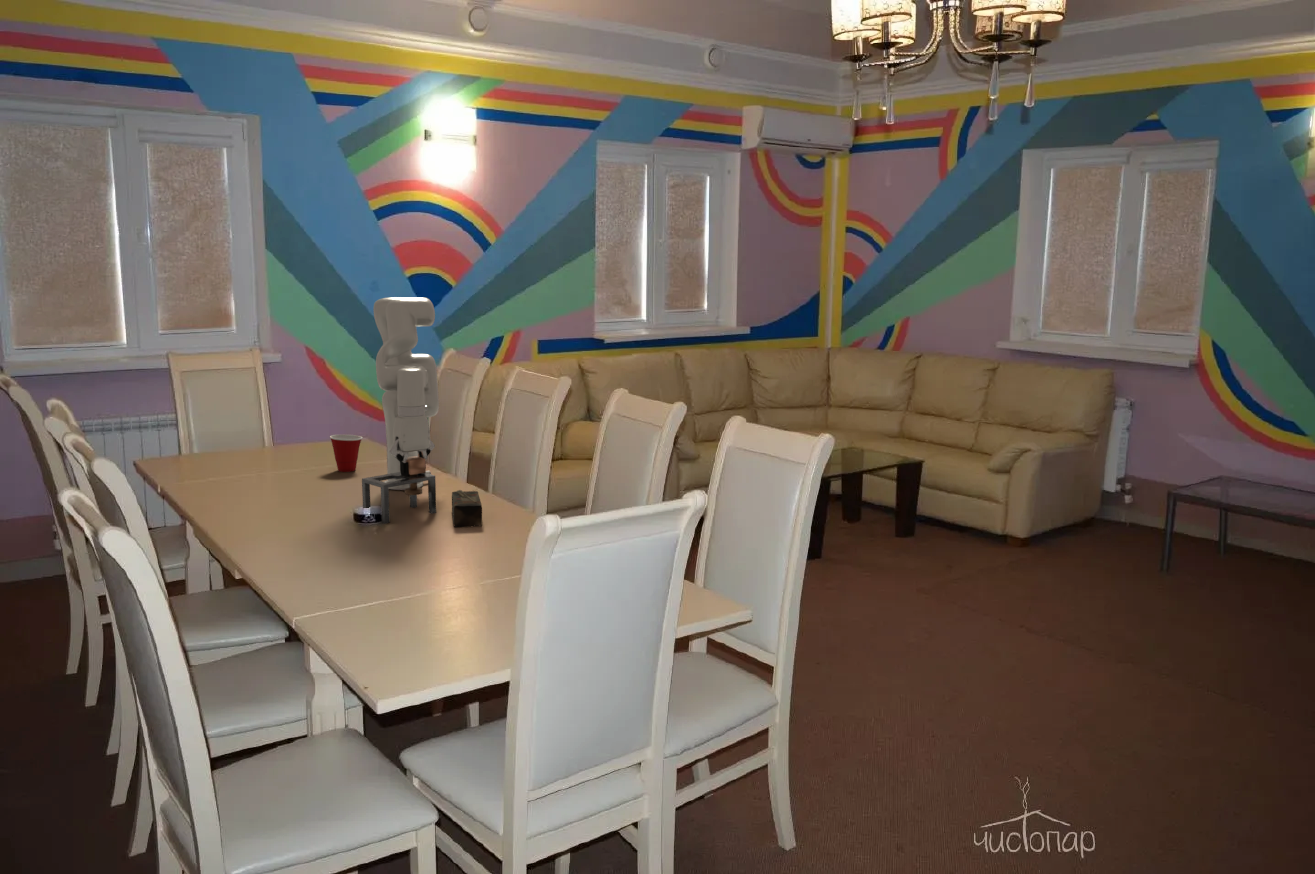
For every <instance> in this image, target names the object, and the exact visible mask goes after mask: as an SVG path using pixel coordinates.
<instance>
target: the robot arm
mask: <svg viewBox="0 0 1315 874" xmlns="http://www.w3.org/2000/svg"><path fill="white" fill-rule="evenodd" d="M373 316H374V321H375V325H376V327H377V330H378V333H379V334H380V337H381V340H382V345H381V346H380V348H379V349H378V352H377V354H376V358H375V370H376V381H377V384H378V387H379V388H380V390H382V391H385V392H383V394H382V396H381V402H382V403H381V405H382V409H383V410H382V411H383V415H384V422H385V423H384V424H385V441H386V466H387V467H386V468H387V469H386V471H387V473H386V474H391V473H397V472H401V475H403V476H409V466H408V462H407V458H408V457H413V456H417V457H421V458H425V465H426V464H427V463H426V460H428V457H429V455H430V453H431V452H432V451H433V450H434V448H435V447H436V446H435V443H434V442H433V441H432V440H431V434H430V433H431V432H430V424H429V420H428V418H432V417H435V416H436V415H437V414H438V413H439V409H440V400H439V398H440V397H439V384H438V370H437V364H436V360H435V358H434V357H433V356H432V355H431V354H428V353H413V352H412V350H413V349H414V348H415V347H416V346H417V345H418V341H419V337H418V331H417V330H418V329H417V327H431V326H433V325H434V323H435V320H436V319H435V318H436V311H435V306H434V304H433V302H432V301H431V300H430V298H428V297H404V296H403V297H401V296H400V297H399V296H398V297H397V296H394V297H383V298H379V299H377V300H375V302H374V303H373ZM426 466H427V465H426ZM424 473H427V474H431V475H432V471H430V470H426V472H424ZM397 480H402V479H397ZM397 480H396V479H388V480H384V482H391V481H397ZM423 486H424V481H422V482H417V487H419V488H422V487H423ZM406 488H409V484H405V485H400V486H394V487H389V490H393V491H394V490H395V491H397V490H398V491H403V490H404V491H405V489H406Z"/></svg>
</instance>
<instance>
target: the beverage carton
mask: <svg viewBox="0 0 1315 874" xmlns="http://www.w3.org/2000/svg"><path fill="white" fill-rule="evenodd" d="M451 511H452V513H451V514H452V523H453V527H454V528H462V527H464V528H466V527H467V528H470V527H471V526H473V527H481V526H483V507H482V502H481V499H480V495H479V492H478V491H476V490H475V491H474V490H472V491H471V490H469V491H463V490H461V489H459V490H456V491H452V492H451Z"/></svg>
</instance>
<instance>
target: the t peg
mask: <svg viewBox="0 0 1315 874" xmlns="http://www.w3.org/2000/svg"><path fill="white" fill-rule="evenodd" d="M417 456H418V455H417ZM417 456H413V457H408V458H407V462H408V466H409V474H410V476H416V475H417V474H419V473H424V472H426V471H427V469H426V468H427V465H425V458H421V457H419V456H418V457H417ZM404 491H405V492H404V493H405V495H407V496H410V495H417V496H419V495H422V494H423V488H422V487H417V482H416V483H411V484H410V488H406V489H405V490H404Z"/></svg>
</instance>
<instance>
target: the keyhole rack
mask: <svg viewBox="0 0 1315 874" xmlns="http://www.w3.org/2000/svg"><path fill="white" fill-rule="evenodd" d="M388 479H396V480H397V479H402V480H397V481H391V482H385V481H387V480H388ZM422 481H423V482H427V487H428V488H427V490H428V491H427V492H428V494H427V495H428V513H429V514H432V515H433V514H436V513H437V494H436V493H437V491H436V489H437V487H436V485H437V484H436V483H437V481H436V475H435V474H432V473H431V474H427V473H419V474H417V475H416V476H410V474H409V476H403V475H401V472H397V473H391V474H387V473H386V474H381V475H380V474H379V475H375V476H370V477H369V476H368V477H363V478H361V489H362V490H361V491H362V493H361V495H362V509H363V508H369V507H371V491H370V490H371V486H375V487H378V488H380V501H381V502H380V503H381V505H380V506H381V508H380V509H381V523H382V524H390V523H391V522H390V493H389V492H390V491H389V490H390V489H389V487H394V486H400V485H405V484H409V488H410V484H411V483H416V482H422ZM417 507H418V495H409V508H412V509H413V508H414V509H415V508H417Z"/></svg>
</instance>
